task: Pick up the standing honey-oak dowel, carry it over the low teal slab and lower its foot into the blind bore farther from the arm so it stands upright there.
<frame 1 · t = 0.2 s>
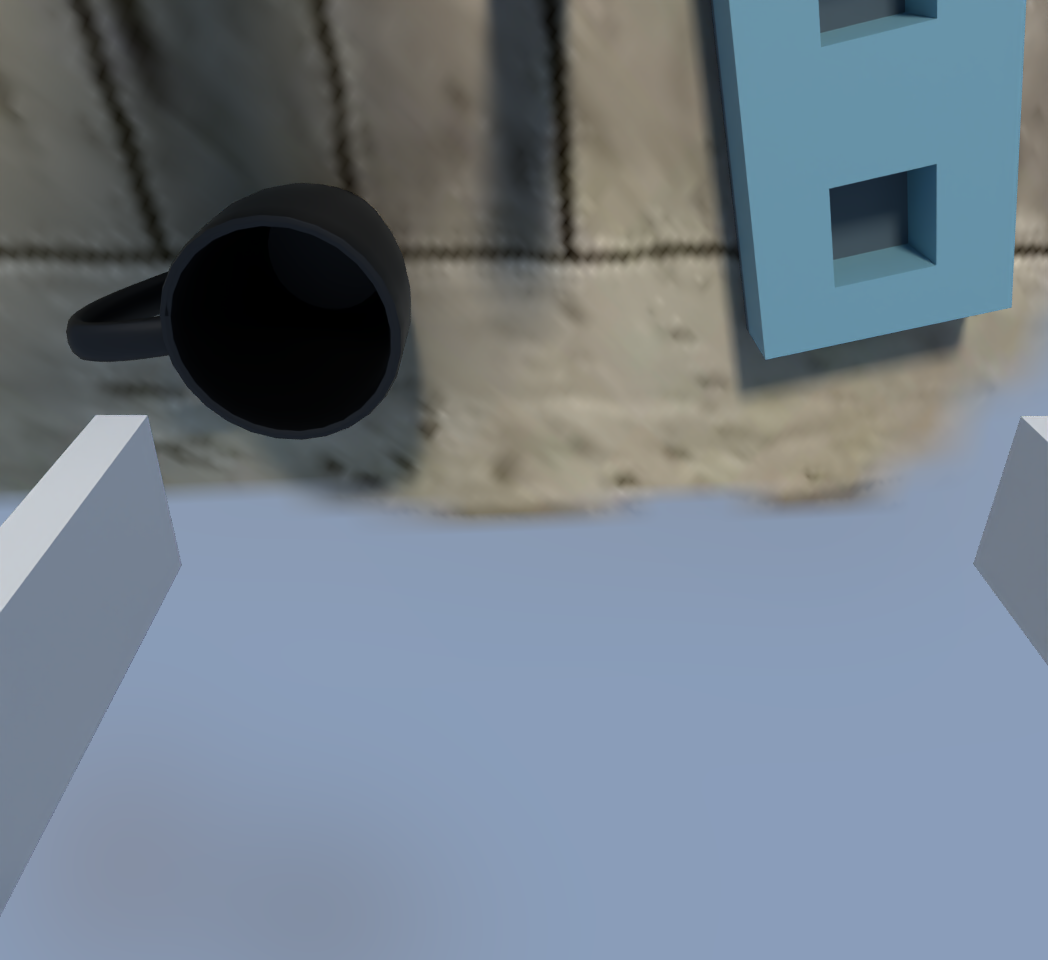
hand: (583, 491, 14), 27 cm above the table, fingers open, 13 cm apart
mug: (286, 251, 39), on the table
bore slab: (849, 92, 36), on the table
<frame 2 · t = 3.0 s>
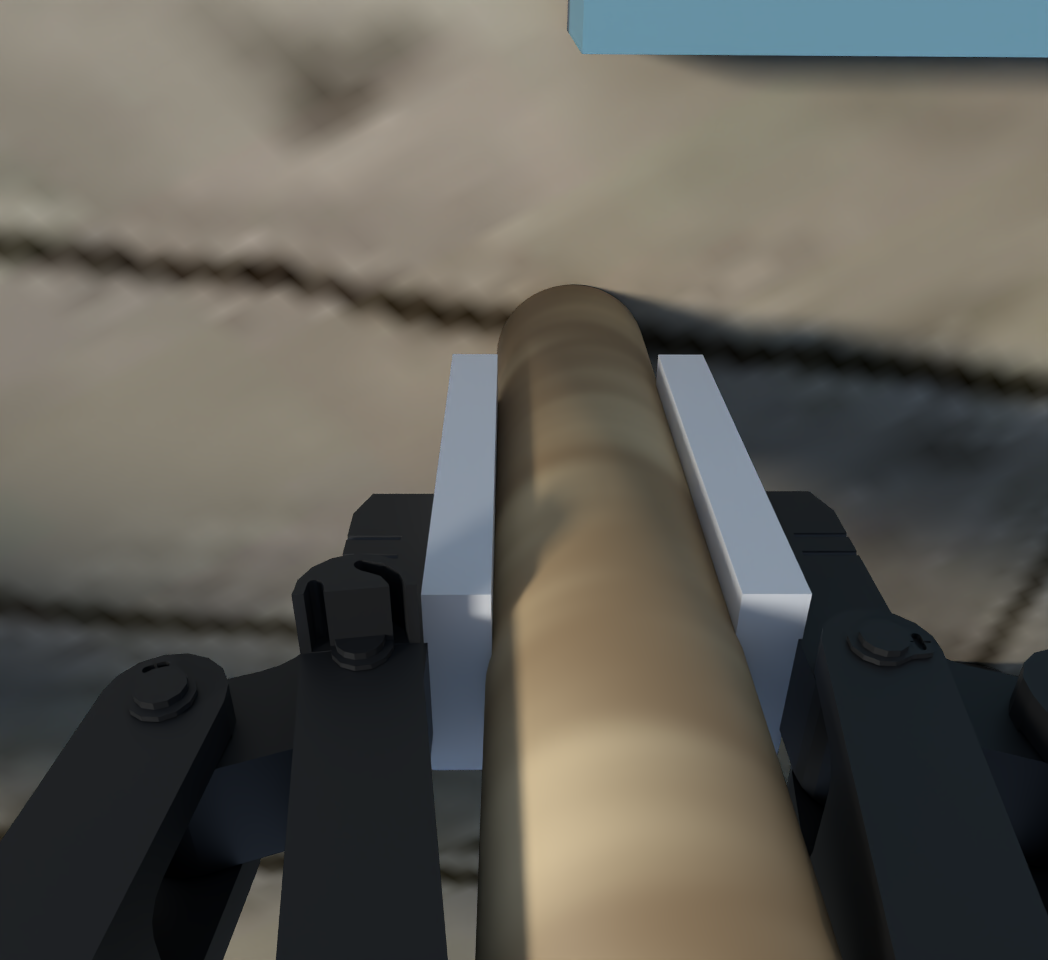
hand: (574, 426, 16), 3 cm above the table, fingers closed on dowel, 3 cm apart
dowel: (570, 355, 19), on the table, touching gripper
when the fingers open (5 cm above the table, at t = 7.4 s): dowel stays where it is, resting on bore slab.
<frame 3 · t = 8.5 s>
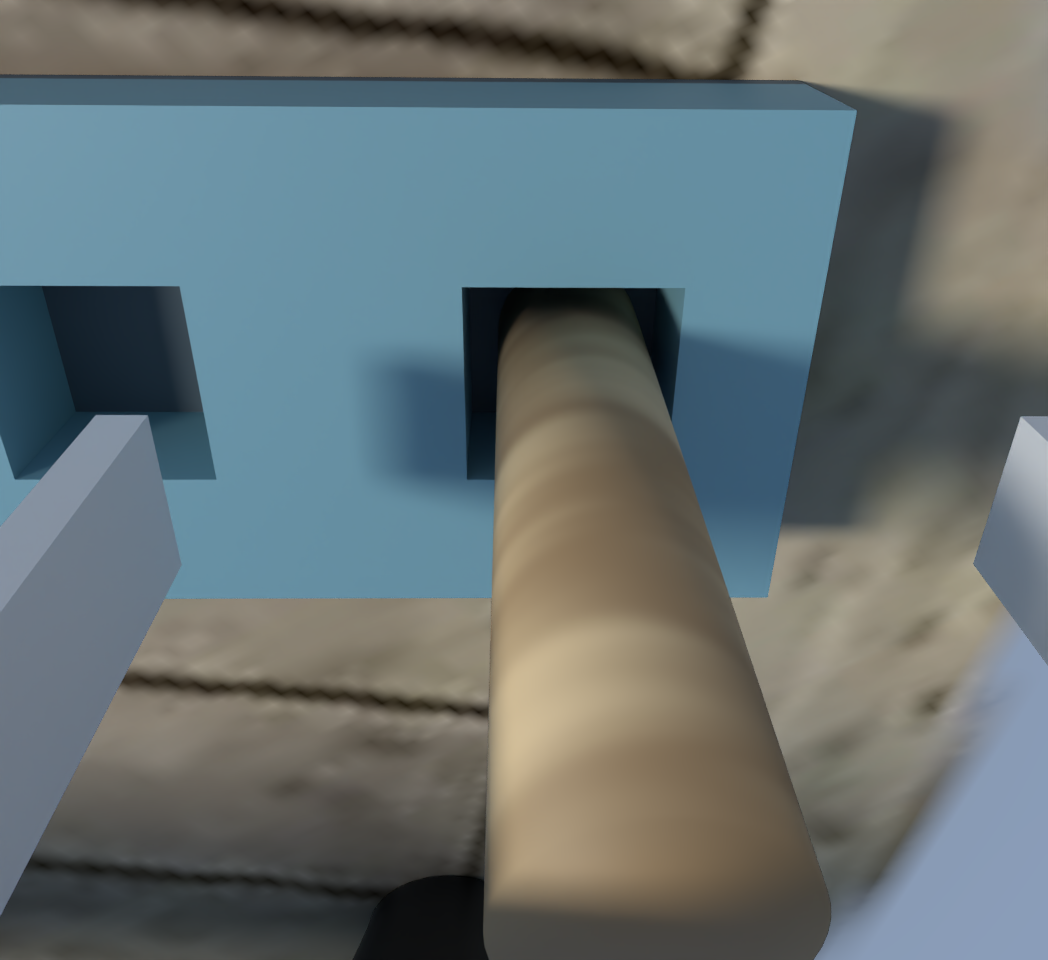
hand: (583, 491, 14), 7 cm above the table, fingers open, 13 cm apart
mug: (443, 951, 33), on the table
dowel: (567, 329, 20), resting on bore slab
bore slab: (358, 321, 20), on the table
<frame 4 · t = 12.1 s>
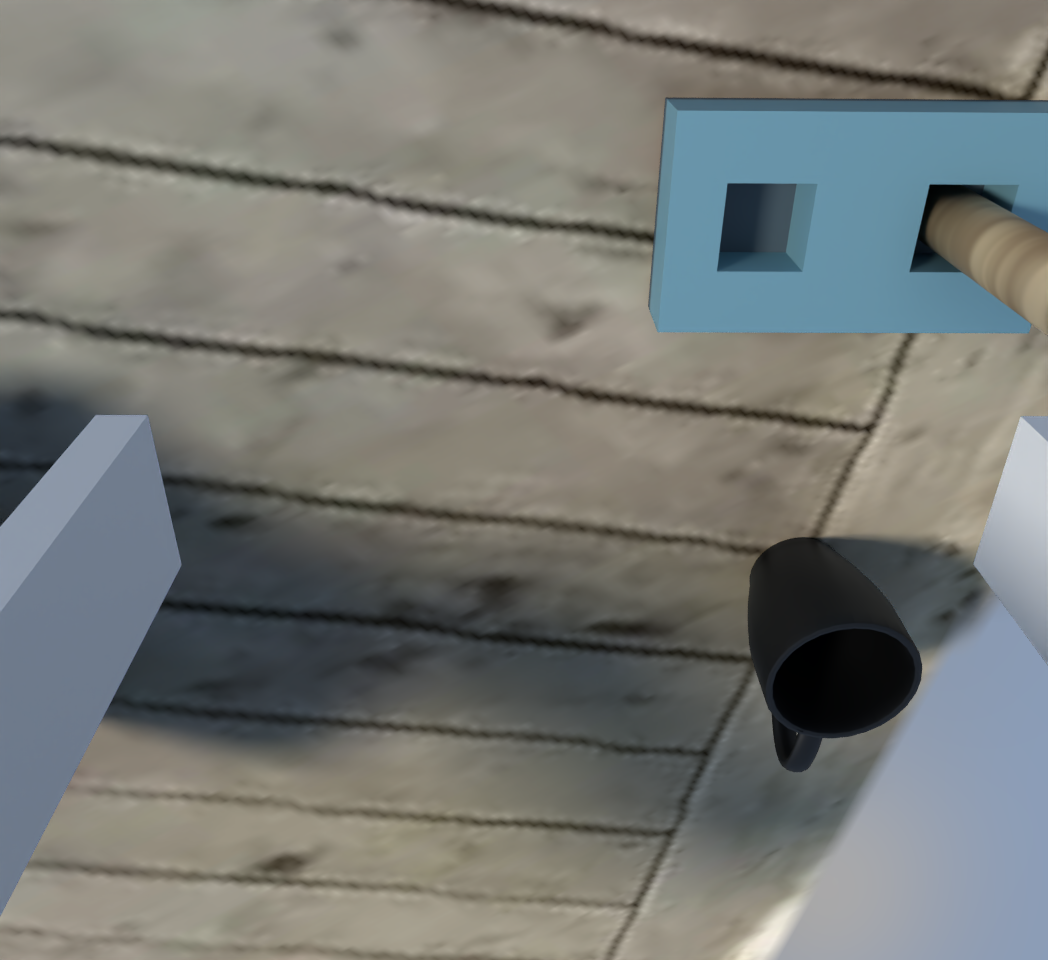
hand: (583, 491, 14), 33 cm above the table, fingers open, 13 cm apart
mug: (783, 596, 57), on the table
dowel: (938, 212, 44), point 1 cm above the table, touching bore slab
bore slab: (840, 209, 45), on the table
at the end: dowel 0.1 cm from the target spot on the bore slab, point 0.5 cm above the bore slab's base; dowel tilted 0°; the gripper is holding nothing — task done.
